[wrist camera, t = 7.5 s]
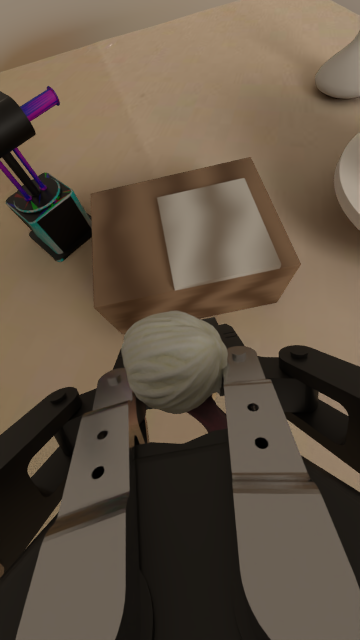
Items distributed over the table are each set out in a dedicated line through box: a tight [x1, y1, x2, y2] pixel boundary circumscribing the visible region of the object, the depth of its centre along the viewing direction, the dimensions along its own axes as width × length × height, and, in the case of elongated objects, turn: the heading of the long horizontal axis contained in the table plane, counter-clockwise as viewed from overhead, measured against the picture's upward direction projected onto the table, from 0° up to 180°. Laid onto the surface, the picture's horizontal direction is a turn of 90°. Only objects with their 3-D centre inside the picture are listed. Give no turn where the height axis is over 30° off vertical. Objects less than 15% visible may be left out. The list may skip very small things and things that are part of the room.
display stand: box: [91, 157, 301, 334], centre depth 28 cm, size 20×16×9 cm
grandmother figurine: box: [121, 311, 228, 433], centre depth 12 cm, size 8×4×13 cm, turn 42°
